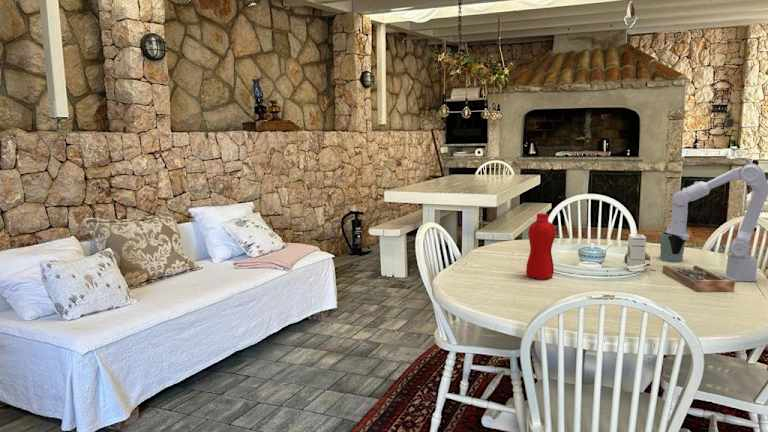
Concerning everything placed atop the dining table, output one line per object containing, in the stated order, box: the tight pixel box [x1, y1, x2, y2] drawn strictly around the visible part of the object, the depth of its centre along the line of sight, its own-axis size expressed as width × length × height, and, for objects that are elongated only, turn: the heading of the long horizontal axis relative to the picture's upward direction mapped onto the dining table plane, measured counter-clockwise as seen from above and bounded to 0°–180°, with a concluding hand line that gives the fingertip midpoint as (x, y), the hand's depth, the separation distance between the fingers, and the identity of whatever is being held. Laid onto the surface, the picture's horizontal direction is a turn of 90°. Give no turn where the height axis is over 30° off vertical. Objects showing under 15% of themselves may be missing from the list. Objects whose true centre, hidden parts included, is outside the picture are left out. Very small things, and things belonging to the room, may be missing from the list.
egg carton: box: [673, 266, 707, 281], centre depth 218 cm, size 11×8×4 cm
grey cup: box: [659, 230, 686, 263], centre depth 246 cm, size 10×10×12 cm
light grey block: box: [624, 251, 651, 263], centre depth 242 cm, size 10×10×8 cm
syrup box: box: [626, 233, 647, 273], centre depth 229 cm, size 6×6×14 cm
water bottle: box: [525, 212, 556, 281], centre depth 219 cm, size 9×11×25 cm
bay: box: [662, 265, 736, 293], centre depth 214 cm, size 13×25×4 cm, turn 179°
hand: (675, 253), depth 229 cm, fingers closed
